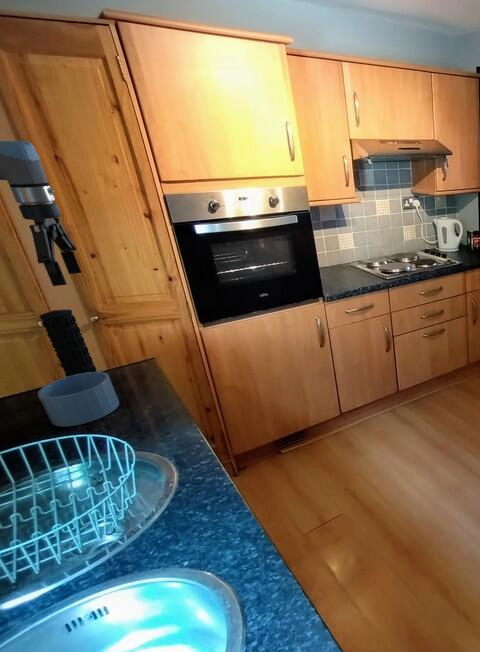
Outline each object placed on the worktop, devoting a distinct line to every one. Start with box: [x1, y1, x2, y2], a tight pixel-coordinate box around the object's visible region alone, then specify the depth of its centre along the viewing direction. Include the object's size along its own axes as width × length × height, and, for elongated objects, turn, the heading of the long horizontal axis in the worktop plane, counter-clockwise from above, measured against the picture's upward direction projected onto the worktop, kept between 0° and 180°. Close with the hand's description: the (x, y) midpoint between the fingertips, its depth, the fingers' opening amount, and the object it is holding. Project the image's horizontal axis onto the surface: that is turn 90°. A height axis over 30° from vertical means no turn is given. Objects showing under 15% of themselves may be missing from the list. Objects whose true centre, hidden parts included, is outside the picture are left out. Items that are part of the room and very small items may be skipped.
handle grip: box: [39, 309, 98, 377], centre depth 133 cm, size 10×26×10 cm
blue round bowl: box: [37, 371, 120, 427], centre depth 126 cm, size 15×15×9 cm
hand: (68, 279), depth 130 cm, fingers open, 13 cm apart
